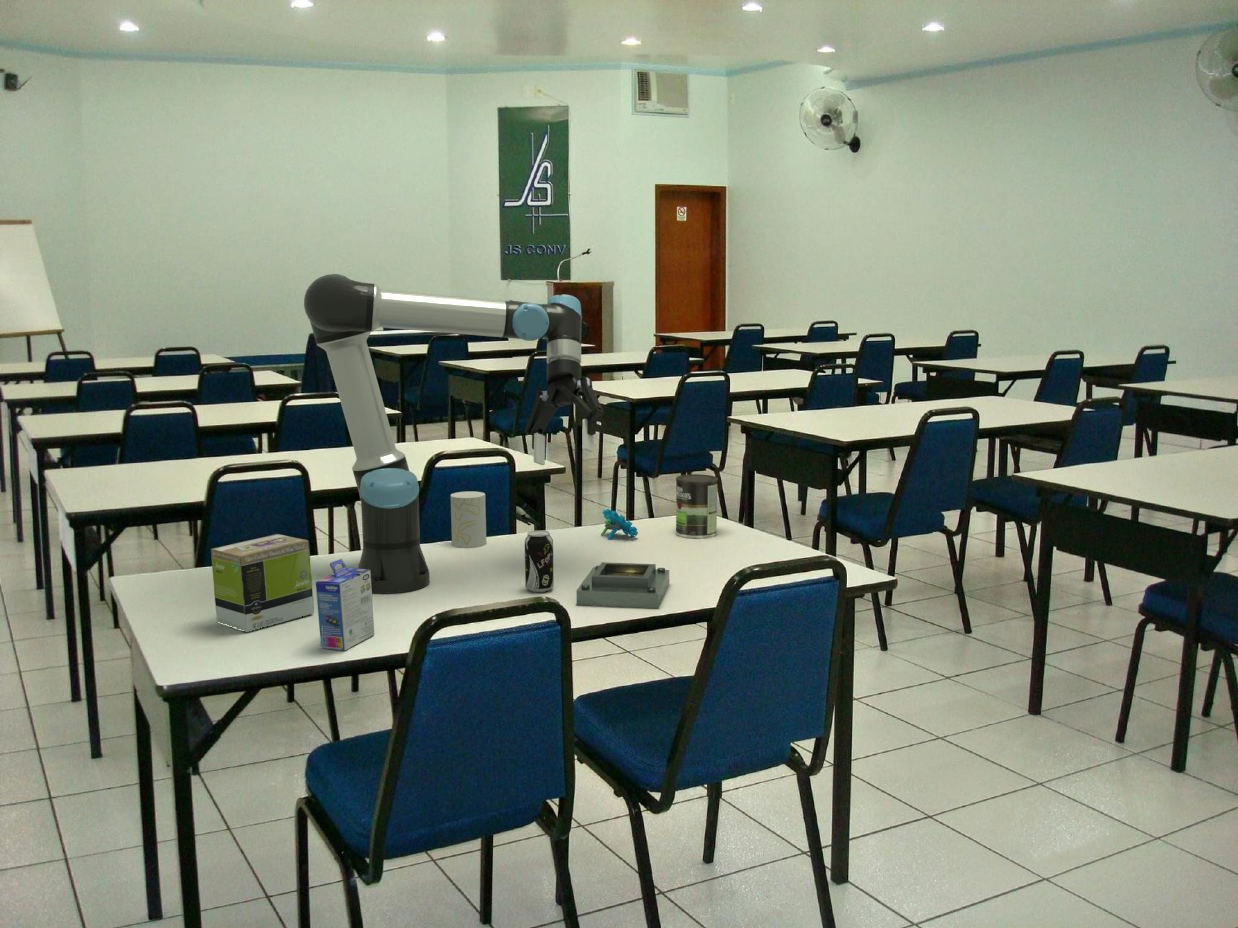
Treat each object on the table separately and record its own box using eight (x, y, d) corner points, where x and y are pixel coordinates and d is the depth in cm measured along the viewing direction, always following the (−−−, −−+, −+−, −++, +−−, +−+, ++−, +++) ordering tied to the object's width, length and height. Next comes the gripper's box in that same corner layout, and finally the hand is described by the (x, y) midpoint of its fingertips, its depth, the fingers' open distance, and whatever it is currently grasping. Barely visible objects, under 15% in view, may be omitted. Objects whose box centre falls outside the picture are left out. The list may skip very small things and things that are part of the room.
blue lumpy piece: (646, 533, 279) (618, 507, 276) (632, 552, 278) (604, 526, 274) (624, 530, 289) (597, 505, 285) (610, 549, 287) (583, 524, 284)
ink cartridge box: (349, 631, 210) (345, 553, 207) (376, 634, 208) (372, 556, 205) (317, 648, 200) (313, 567, 198) (345, 651, 199) (341, 569, 196)
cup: (446, 546, 274) (444, 496, 272) (460, 539, 282) (459, 490, 280) (478, 548, 272) (476, 498, 270) (491, 541, 279) (490, 492, 277)
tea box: (283, 605, 226) (279, 531, 224) (315, 615, 220) (311, 539, 217) (214, 624, 215) (209, 546, 212) (245, 634, 208) (240, 554, 206)
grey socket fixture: (593, 581, 243) (593, 557, 242) (669, 583, 240) (669, 560, 239) (576, 605, 225) (576, 580, 224) (658, 608, 223) (658, 583, 222)
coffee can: (689, 540, 279) (689, 482, 277) (667, 532, 288) (667, 476, 286) (725, 535, 284) (726, 479, 281) (703, 527, 293) (703, 472, 290)
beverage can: (535, 595, 232) (534, 536, 230) (520, 589, 237) (519, 531, 235) (559, 590, 236) (558, 533, 234) (543, 584, 240) (543, 528, 238)
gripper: (619, 355, 247) (620, 449, 240) (532, 383, 261) (531, 472, 254) (597, 343, 241) (597, 439, 234) (510, 373, 256) (507, 464, 249)
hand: (563, 457), depth 244 cm, fingers open, 13 cm apart
